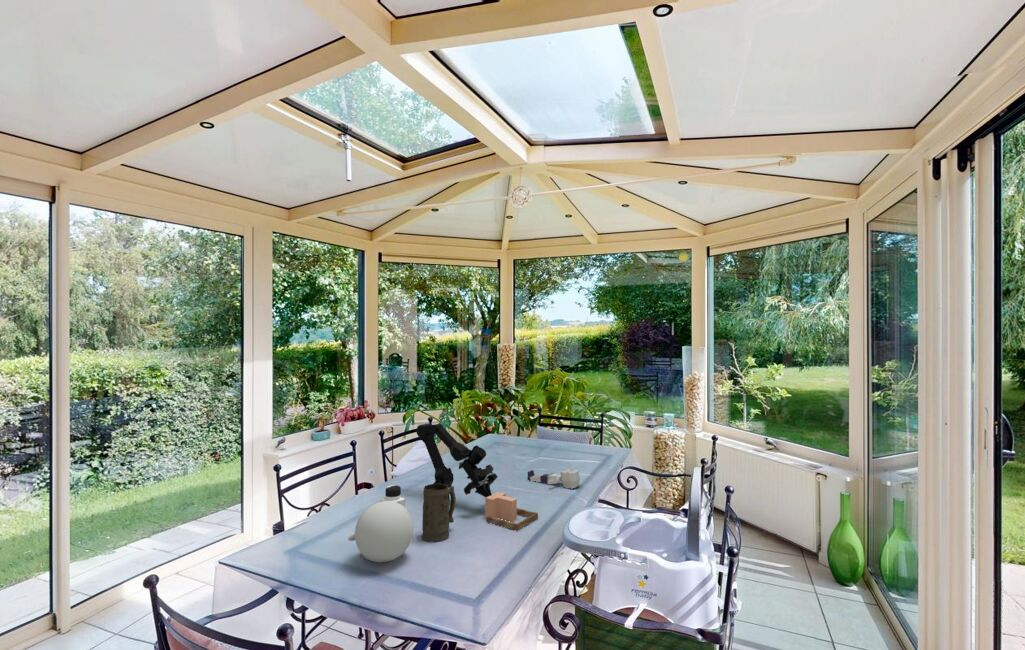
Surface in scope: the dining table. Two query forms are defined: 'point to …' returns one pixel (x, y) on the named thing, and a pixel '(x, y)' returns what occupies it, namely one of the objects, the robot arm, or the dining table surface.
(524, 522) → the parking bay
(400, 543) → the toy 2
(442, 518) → the beer stein
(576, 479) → the toy
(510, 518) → the t block
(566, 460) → the dining table surface
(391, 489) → the container
